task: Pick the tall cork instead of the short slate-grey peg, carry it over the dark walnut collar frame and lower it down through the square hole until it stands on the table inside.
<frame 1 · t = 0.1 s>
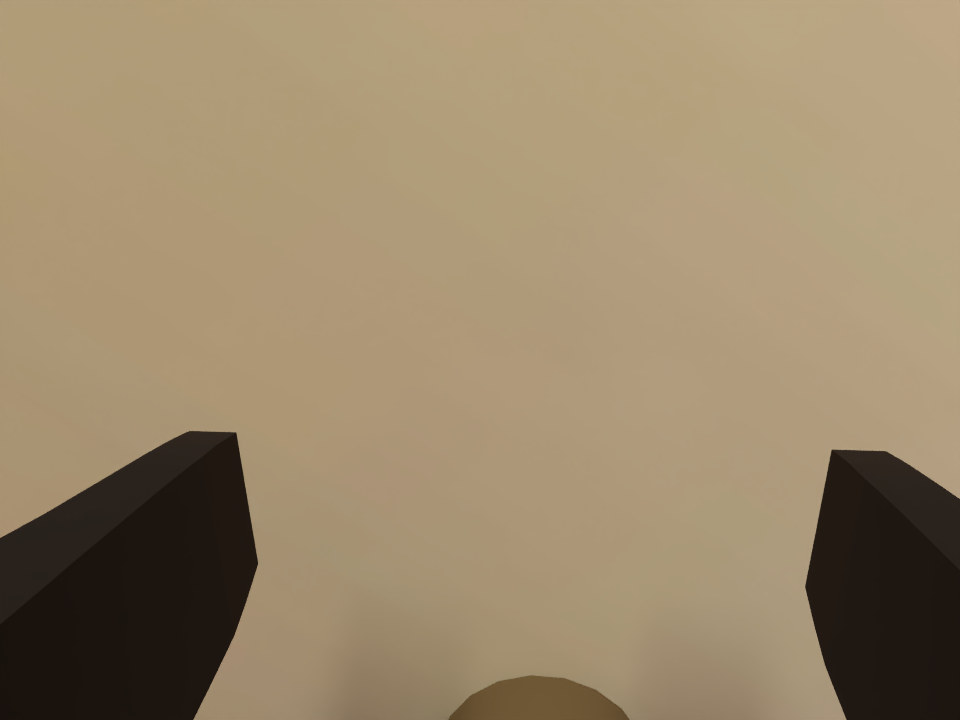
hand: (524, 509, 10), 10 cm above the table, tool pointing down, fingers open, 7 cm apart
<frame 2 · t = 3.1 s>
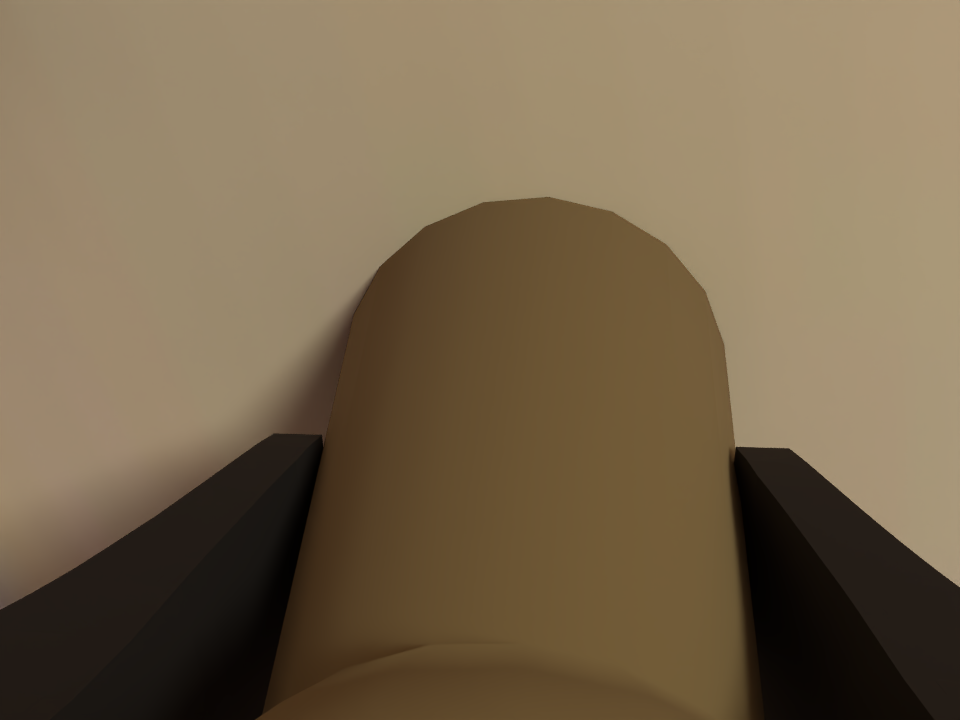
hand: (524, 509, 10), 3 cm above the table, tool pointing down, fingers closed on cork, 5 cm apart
cork: (532, 377, 13), on the table, touching gripper
when the fingers open (4 cm above the table, at t = 9.2 s): cork stays where it is, resting in walnut collar block.
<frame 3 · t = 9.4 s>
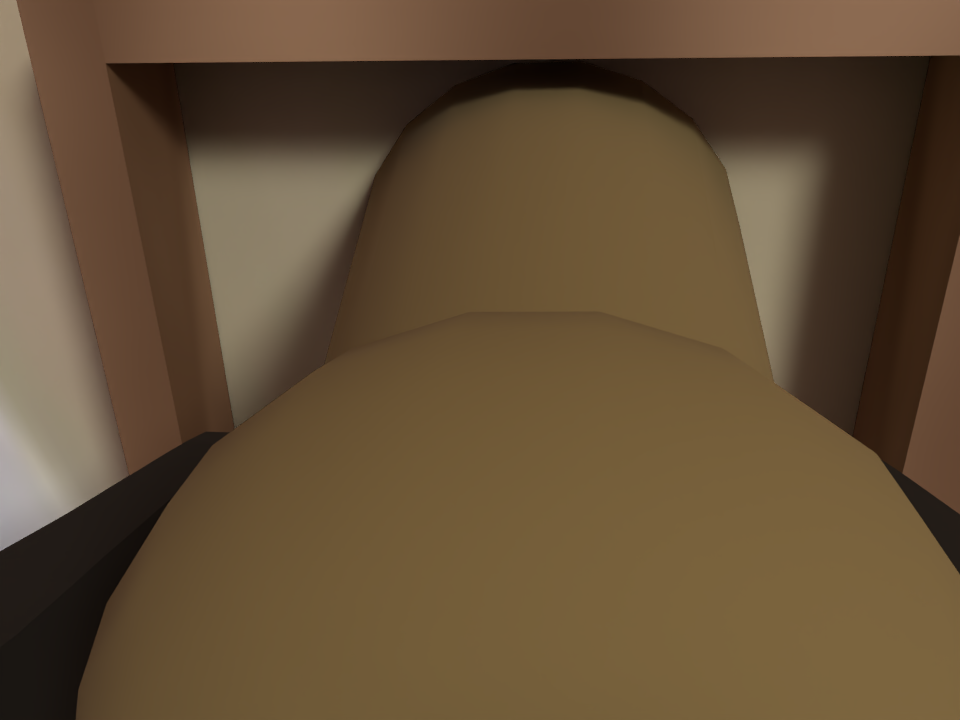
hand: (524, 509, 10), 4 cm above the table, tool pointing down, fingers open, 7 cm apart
walnut collar block: (534, 356, 14), on the table
cork: (547, 253, 14), resting in walnut collar block
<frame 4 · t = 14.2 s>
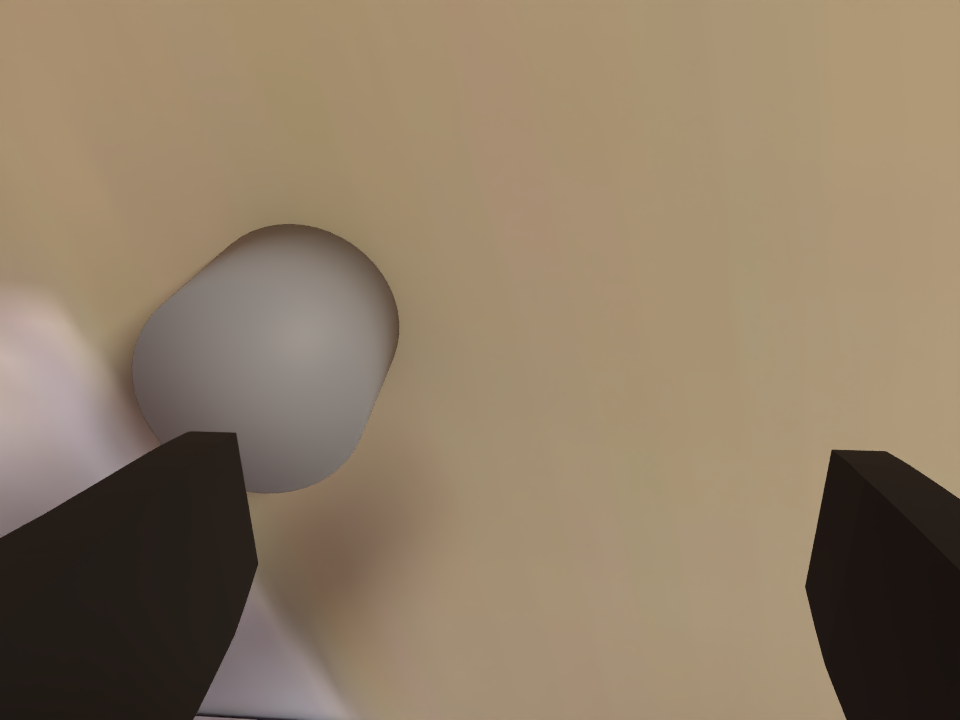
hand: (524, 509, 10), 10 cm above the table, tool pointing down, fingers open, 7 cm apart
short slate peg: (301, 319, 21), on the table
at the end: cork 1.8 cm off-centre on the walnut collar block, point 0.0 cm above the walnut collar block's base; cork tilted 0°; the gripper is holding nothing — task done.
